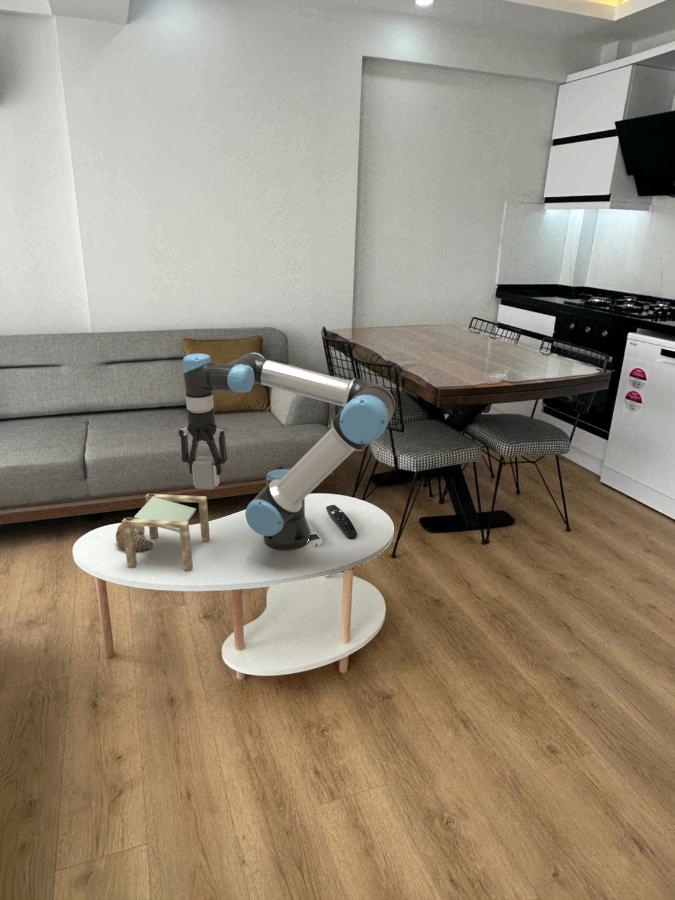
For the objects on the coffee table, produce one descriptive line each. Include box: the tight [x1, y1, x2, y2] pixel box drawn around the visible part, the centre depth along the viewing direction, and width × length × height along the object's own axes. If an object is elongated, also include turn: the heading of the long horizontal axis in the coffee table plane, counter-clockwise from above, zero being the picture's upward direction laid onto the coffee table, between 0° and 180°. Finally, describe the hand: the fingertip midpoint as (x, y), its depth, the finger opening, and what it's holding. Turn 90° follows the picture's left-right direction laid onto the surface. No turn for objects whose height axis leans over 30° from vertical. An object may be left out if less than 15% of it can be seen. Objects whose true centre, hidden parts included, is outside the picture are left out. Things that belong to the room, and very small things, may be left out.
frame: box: [121, 492, 211, 572], centre depth 183 cm, size 19×19×16 cm
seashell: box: [115, 523, 155, 552], centre depth 190 cm, size 14×10×10 cm
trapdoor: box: [133, 497, 197, 534], centre depth 182 cm, size 14×14×4 cm
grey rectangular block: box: [193, 455, 216, 490], centre depth 178 cm, size 6×6×8 cm
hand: (206, 483), depth 179 cm, fingers closed on grey rectangular block, 5 cm apart
